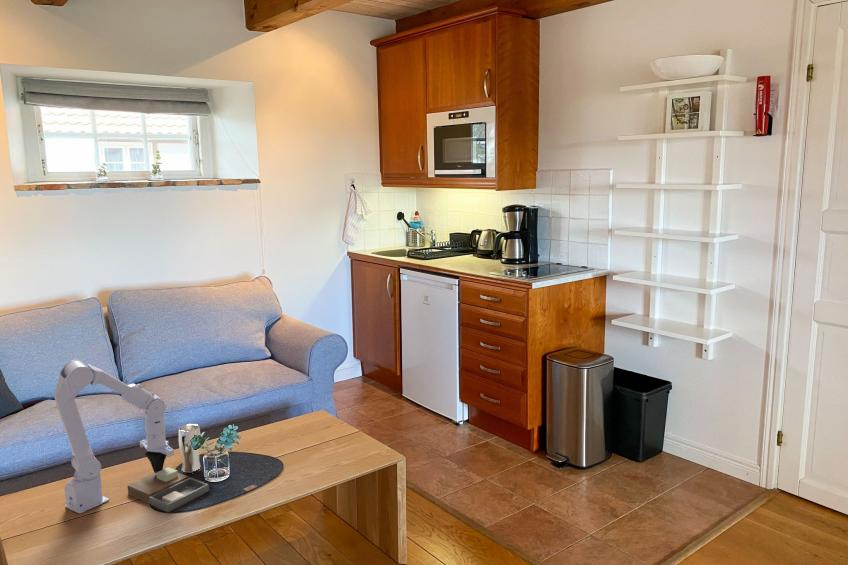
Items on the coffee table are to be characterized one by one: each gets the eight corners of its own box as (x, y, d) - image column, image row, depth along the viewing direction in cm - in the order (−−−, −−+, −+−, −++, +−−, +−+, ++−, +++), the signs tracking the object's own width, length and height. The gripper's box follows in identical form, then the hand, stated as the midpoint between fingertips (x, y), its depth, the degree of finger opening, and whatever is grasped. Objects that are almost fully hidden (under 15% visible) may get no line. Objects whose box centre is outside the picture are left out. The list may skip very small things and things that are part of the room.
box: (168, 512, 192) (167, 505, 192) (149, 504, 197) (148, 497, 196) (209, 491, 205) (208, 484, 204) (190, 484, 209) (190, 477, 209)
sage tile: (165, 481, 205) (165, 476, 204) (156, 478, 207) (156, 472, 207) (177, 476, 208) (177, 470, 208) (168, 472, 211) (168, 467, 210)
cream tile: (162, 497, 196) (162, 503, 197) (171, 501, 194) (172, 507, 194) (174, 491, 200) (175, 497, 201) (184, 494, 198) (184, 501, 198)
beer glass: (175, 471, 218) (173, 429, 216) (192, 463, 224) (190, 422, 222) (190, 476, 215) (187, 433, 212) (206, 468, 221) (204, 426, 218)
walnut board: (150, 503, 197) (149, 494, 197) (128, 494, 203) (127, 485, 203) (188, 484, 209) (188, 476, 208) (166, 476, 215) (166, 467, 214)
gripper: (180, 432, 207) (183, 472, 210) (152, 423, 215) (154, 461, 217) (161, 440, 201) (164, 481, 204) (132, 430, 209) (136, 470, 211)
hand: (158, 472), depth 210 cm, fingers closed
